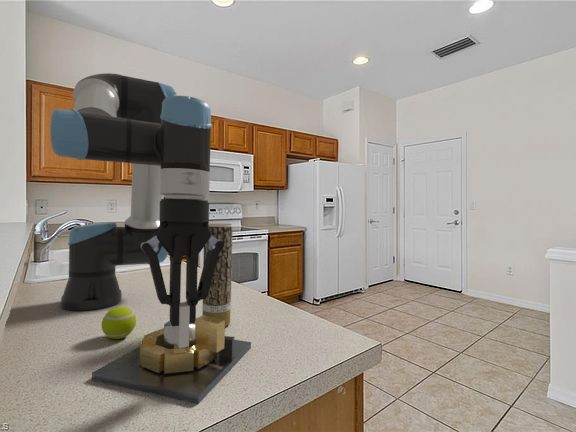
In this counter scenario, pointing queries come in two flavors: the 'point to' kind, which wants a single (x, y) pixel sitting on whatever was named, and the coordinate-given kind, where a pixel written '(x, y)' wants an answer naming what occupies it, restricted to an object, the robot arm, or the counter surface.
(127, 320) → the tennis ball
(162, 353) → the ring nut
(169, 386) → the housing
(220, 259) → the bark textured cylinder
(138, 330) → the counter surface
